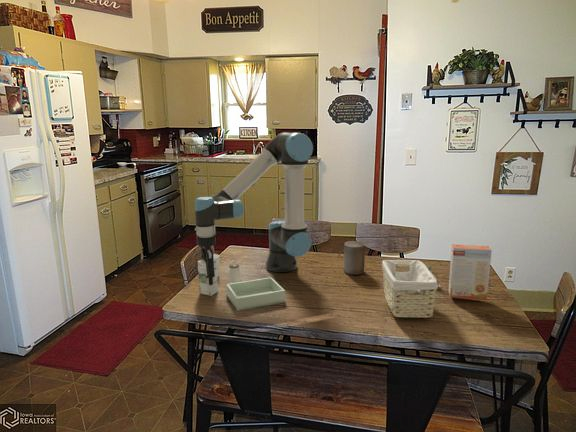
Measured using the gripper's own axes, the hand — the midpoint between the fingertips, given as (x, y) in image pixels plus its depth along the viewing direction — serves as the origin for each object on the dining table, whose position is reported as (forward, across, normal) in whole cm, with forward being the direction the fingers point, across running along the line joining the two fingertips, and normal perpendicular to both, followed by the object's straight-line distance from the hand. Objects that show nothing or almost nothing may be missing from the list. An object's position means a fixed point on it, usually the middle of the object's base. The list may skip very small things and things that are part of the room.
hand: (208, 287), depth 171 cm
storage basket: (+3, +42, +68) cm, 80 cm away
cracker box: (+2, +45, +96) cm, 106 cm away
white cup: (+3, -18, +5) cm, 19 cm away
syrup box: (+2, 0, 0) cm, 2 cm away
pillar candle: (+2, +2, +69) cm, 69 cm away
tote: (+2, +14, +16) cm, 21 cm away
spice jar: (+2, -3, +12) cm, 13 cm away
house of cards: (+3, +28, +94) cm, 98 cm away
